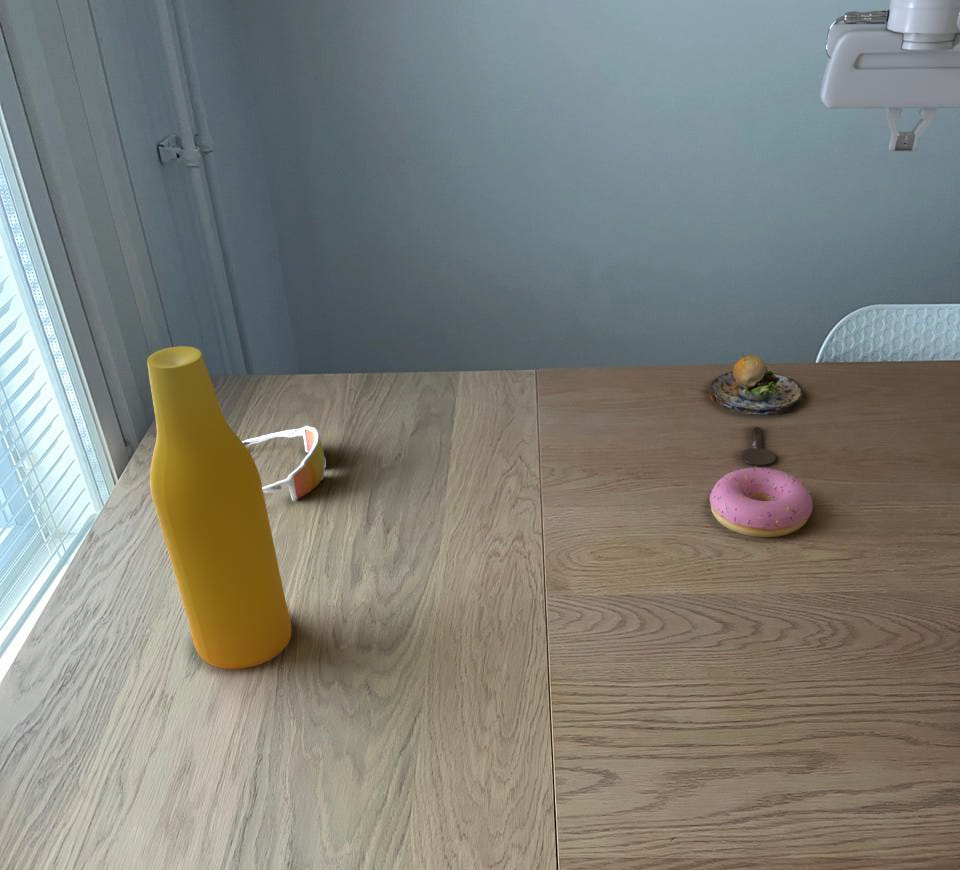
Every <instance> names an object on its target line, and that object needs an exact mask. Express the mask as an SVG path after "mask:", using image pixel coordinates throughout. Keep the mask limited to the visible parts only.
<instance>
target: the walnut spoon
mask: <svg viewBox="0 0 960 870" xmlns="http://www.w3.org/2000/svg"><path fill="white" fill-rule="evenodd" d="M751 446H752V447H751V448H747V449H745V450H743V451H742V452H741V454H740V460H741V461H742V462H743V464H746V465H747V466H750V467H755V466H756V468H767V467H769V466H772V465H774V464H775V462H776V458H777V457H776V455H775V453H774V452H773V451H772V450H771V451H770V450H769V449H765V448H763V432H762V429H761V427H758V426H755V427H753V428H752V429H751Z"/></svg>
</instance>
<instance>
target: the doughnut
mask: <svg viewBox="0 0 960 870" xmlns="http://www.w3.org/2000/svg"><path fill="white" fill-rule="evenodd" d="M709 493H710V494H709V504H710V509H711V512H712V515H713V516H714V518H715V519H716V520H717V521H718V523H720V524H721V525H722V526H723V527H725V528H727V529H729V530H730V531H733V532H735V533H738V534H741V535H745V536H748V537H756V538H776V537H783V536H786V535H789V534H792V533H794V532H796V531H799V530H800V529H801V528H802V527H803V526H804V525H805V524H806V523H807V522H808V520H809V518H810V516H811V515H812V512H813V510H814V504H813V498H812V495H811V494H813V491H810V490H809V488H808V485H807V484H805V483H804V482H802V480H800V479H798V478H797V476H794V475H791V474H790V473H787V472H785V471H783V470H779V469H775V468H770V467H756V466H750V467H745V468H738V469H737V470H733V471H732V470H730V471H727V474H725V475H723V476H720V477H719V479H718V480H717V482H716V483H715V485H714V487H713V488H712V490H711V491H709Z"/></svg>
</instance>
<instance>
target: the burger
mask: <svg viewBox="0 0 960 870" xmlns="http://www.w3.org/2000/svg"><path fill="white" fill-rule="evenodd" d="M741 353H742V358H740V359H738V360H737V362H736V363H735V364H734V366H733V368H732V370H731V371H729V372H726V373H723V374H721V375H719V376H718V377H716V378H715V379H713V380H712V382H711V384H710V389H709V390H710V392H709V394H710V396H709V399H710V400H711V401H712V402H715V403H719V404H720V406H722V407H723V408H724V409H727V410H729V411H730V412H734V413H741V414H749V415H765V416H769V415H770V416H771V415H783V414H785V413H790V411H791V409H792V407H793V406H794V405H795V404H798V403H799V402H800V401H801V400H802V395H803V393H804V392H803V388H802V386H801V385H800V384H799V382H797V381H796V380H795V379H793V378H790V377H789V376H785V375H784V374H783V375H782V374H780V373H777V372H773V371H772V370H768V368H767V365H766V362H765V360H764V359H763V358H762V357H760V356H758V355H747V356H744V352H743V349H742V348H741Z"/></svg>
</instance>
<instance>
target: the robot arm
mask: <svg viewBox="0 0 960 870" xmlns="http://www.w3.org/2000/svg"><path fill="white" fill-rule="evenodd" d="M842 21H843V23H840V22H842ZM825 54H826V55H827V57H828V59H827V62H826V66H825V69H824V74H823V77H822V82H821V86H820V92H819V97H820V101H821V102H822V104H823V105H824V107H825V108H826V109H885V112H884V117H885V120H886V123H887V126H888V129H889V131H890V137H889V141H888V151H889V152H917V150H918V146H919V142H920V138H921V136H922V135H923V134H924V133H925V132H926V130H927V128H929V126H930V125H931V124H932V122H933V121H934V120H935V116H936V113H937V109H960V0H890V1H889V5H888V9H887V10H870V11H865V12H864V11H862V12H860V11H856V10H855V11H853V10H851V11H846V12H845V13H844V15H842V16H839V17H838V18H836V19H835V20H834V21H833V22H832V23H831V24H830V26H829V28H828V30H827V35H826V41H825ZM903 109H919V111H918V115H919V116H920V119H919V121H918V122H917V123H916V125H915V126H914V127H913V129H912V130H911V131H899V130H898V126H897V123H896V120H898V119H899V120H900V118H901V114H902V111H903Z"/></svg>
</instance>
